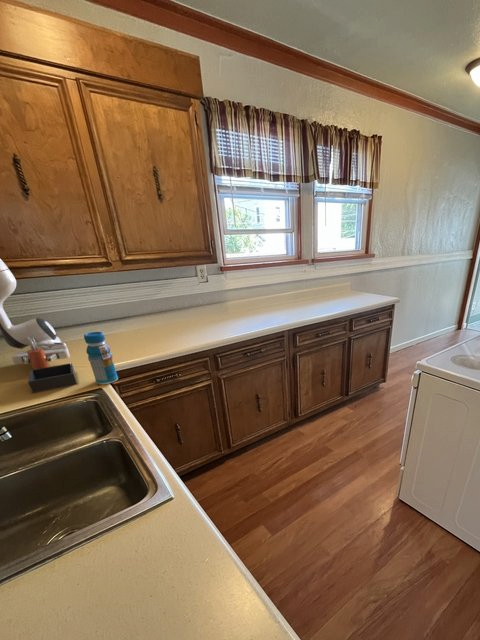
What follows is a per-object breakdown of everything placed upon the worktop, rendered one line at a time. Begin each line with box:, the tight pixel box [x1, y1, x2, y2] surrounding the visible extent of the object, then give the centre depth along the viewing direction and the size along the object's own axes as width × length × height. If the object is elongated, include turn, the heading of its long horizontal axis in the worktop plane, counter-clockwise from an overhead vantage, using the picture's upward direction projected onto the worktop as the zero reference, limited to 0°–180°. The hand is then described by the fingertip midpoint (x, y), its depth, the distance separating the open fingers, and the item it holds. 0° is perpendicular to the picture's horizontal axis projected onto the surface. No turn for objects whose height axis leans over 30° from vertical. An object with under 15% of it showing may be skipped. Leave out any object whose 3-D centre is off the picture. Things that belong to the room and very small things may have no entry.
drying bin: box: [27, 362, 78, 393], centre depth 133 cm, size 15×15×5 cm
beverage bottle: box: [83, 331, 119, 385], centre depth 131 cm, size 8×8×20 cm
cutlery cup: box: [26, 337, 51, 370], centre depth 138 cm, size 6×6×17 cm
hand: (38, 360), depth 138 cm, fingers open, 7 cm apart
